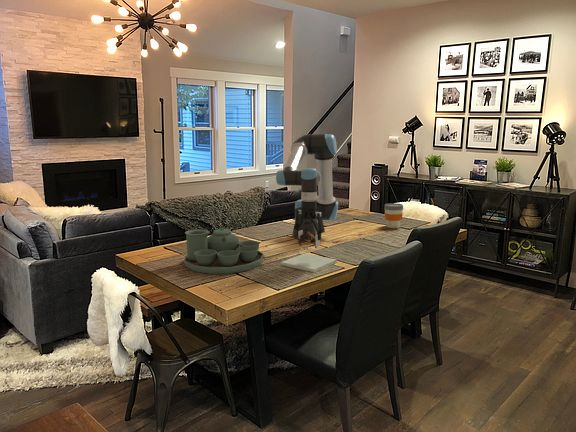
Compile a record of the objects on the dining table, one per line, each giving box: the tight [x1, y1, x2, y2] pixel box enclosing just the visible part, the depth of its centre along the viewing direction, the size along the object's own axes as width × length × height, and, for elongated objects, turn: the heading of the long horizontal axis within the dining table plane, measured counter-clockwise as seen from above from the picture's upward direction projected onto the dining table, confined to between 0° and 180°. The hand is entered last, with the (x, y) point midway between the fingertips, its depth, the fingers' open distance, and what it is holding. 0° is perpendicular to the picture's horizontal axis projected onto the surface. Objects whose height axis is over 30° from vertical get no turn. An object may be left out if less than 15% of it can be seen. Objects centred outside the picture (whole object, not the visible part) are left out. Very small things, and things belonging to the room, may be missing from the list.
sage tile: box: [280, 253, 338, 273], centre depth 231 cm, size 20×20×2 cm
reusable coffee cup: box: [383, 202, 404, 229], centre depth 313 cm, size 13×13×15 cm
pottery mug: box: [296, 232, 318, 249], centre depth 229 cm, size 12×10×8 cm
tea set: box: [183, 227, 265, 275], centre depth 234 cm, size 40×40×16 cm
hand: (309, 244), depth 229 cm, fingers closed on pottery mug, 10 cm apart
